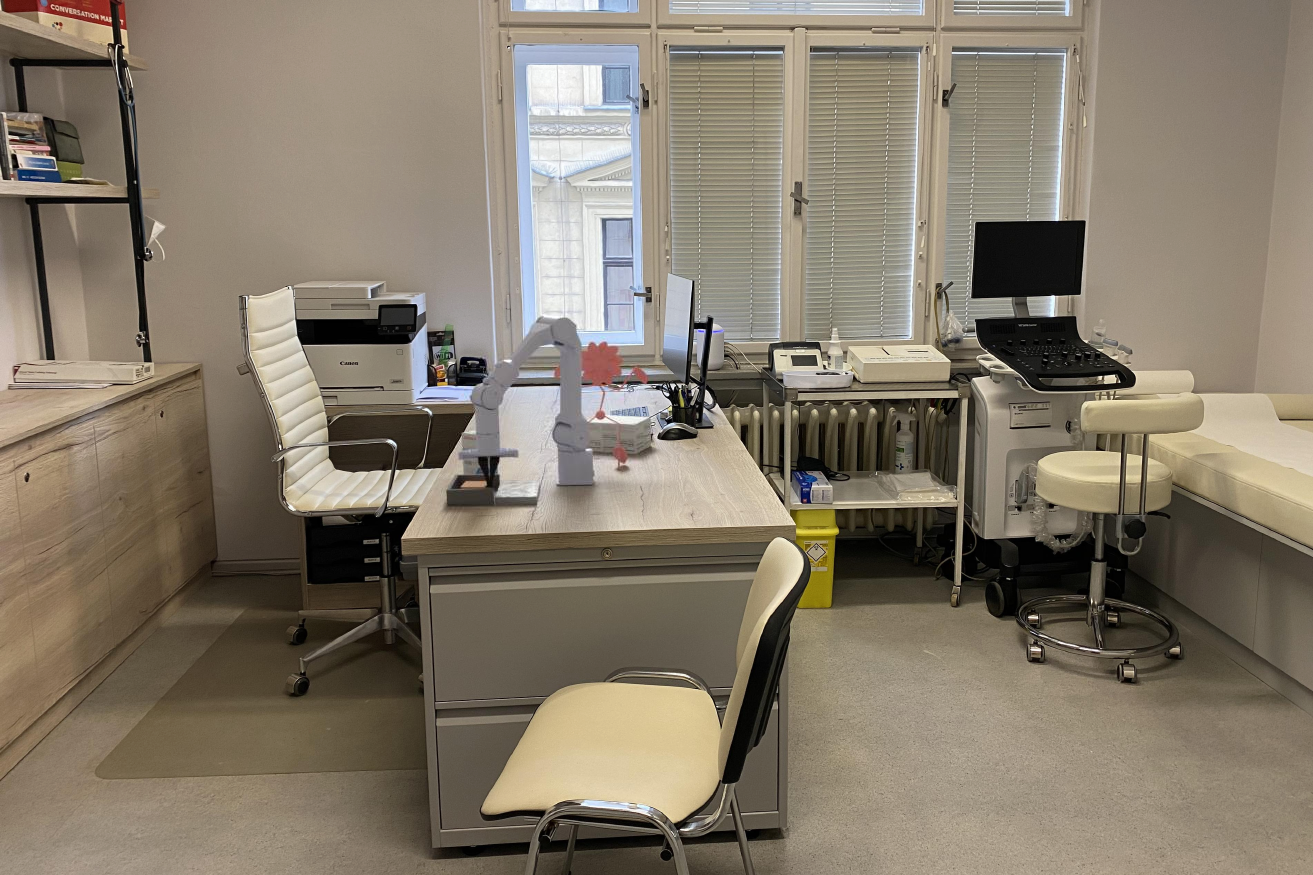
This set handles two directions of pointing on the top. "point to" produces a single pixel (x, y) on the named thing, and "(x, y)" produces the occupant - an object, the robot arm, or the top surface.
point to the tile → (475, 485)
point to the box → (471, 491)
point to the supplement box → (631, 436)
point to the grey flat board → (518, 493)
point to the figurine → (605, 379)
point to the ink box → (471, 464)
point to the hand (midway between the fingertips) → (489, 486)
